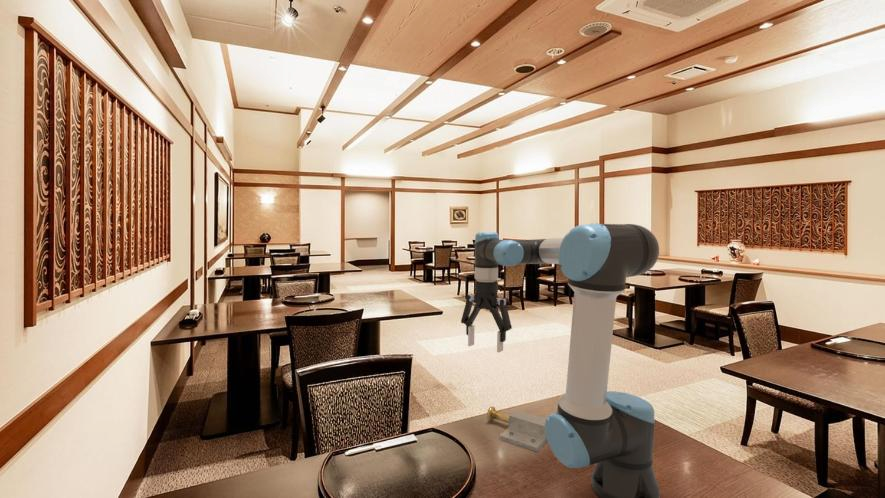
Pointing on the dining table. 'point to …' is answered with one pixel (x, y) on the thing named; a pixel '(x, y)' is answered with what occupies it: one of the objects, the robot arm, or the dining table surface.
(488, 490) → the dining table surface
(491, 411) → the pin
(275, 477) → the dining table surface
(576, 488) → the dining table surface
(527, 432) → the grey mounting bracket
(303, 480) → the dining table surface
